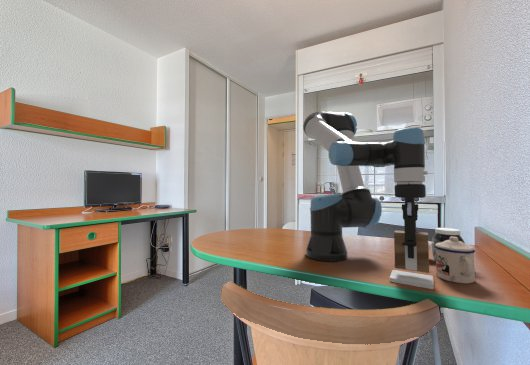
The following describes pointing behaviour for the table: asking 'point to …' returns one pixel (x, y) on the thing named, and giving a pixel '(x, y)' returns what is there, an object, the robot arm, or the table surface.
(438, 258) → the teacup with lid
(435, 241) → the spread jar
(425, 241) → the walnut slab
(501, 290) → the table surface
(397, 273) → the grey board
